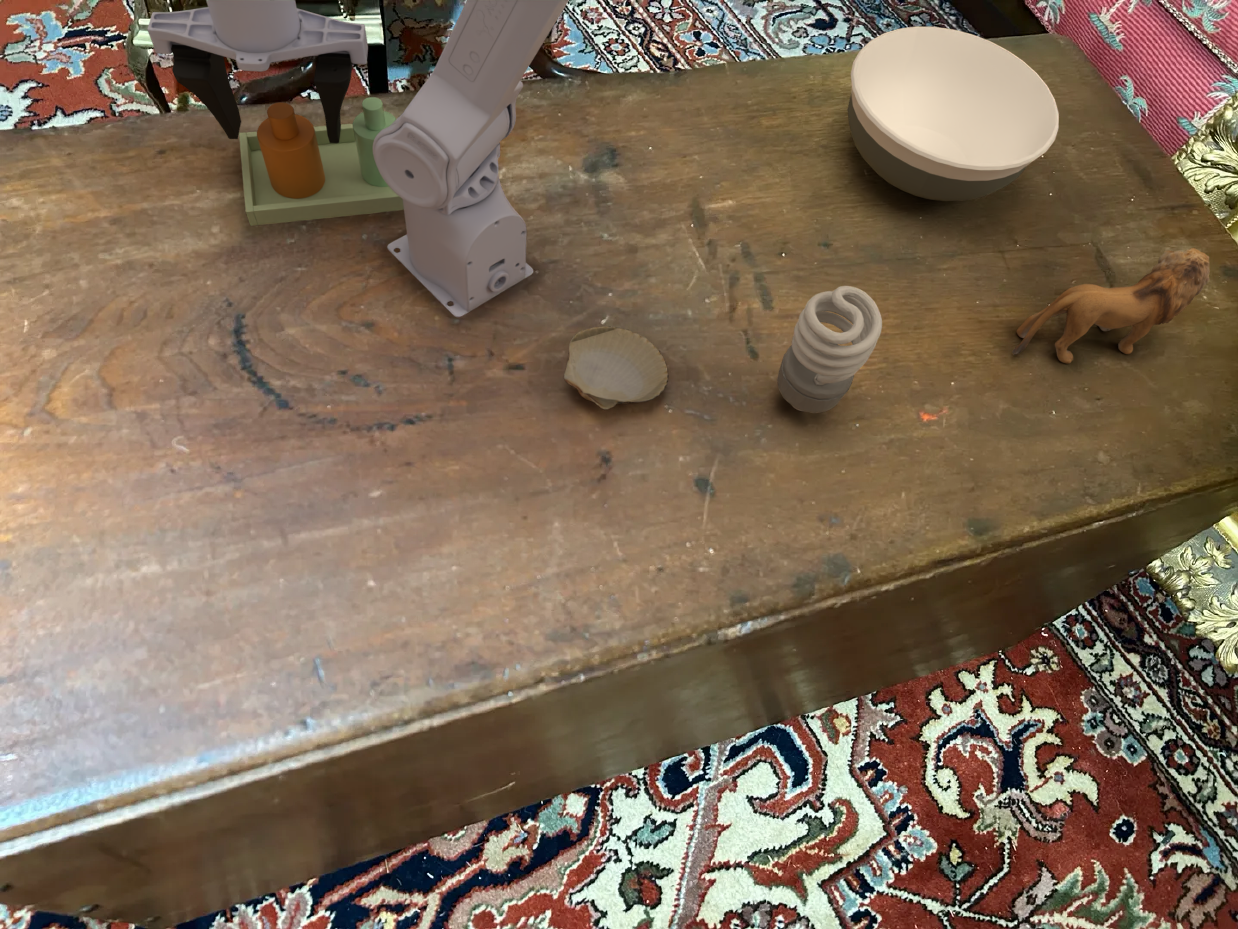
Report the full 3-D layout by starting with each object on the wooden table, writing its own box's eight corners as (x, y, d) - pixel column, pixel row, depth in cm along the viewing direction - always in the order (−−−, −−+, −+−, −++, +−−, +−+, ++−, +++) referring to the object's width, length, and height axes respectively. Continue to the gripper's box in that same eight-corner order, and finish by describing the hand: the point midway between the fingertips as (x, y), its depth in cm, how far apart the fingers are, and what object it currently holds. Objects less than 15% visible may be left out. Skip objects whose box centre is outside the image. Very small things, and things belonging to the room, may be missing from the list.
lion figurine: (1130, 300, 80) (1196, 226, 73) (1166, 346, 78) (1239, 275, 70) (993, 334, 77) (1048, 261, 69) (1027, 384, 74) (1088, 314, 66)
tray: (467, 132, 82) (467, 113, 80) (486, 205, 78) (486, 187, 76) (244, 152, 78) (238, 132, 76) (251, 230, 73) (245, 211, 72)
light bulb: (838, 437, 70) (896, 341, 59) (767, 432, 69) (813, 334, 59) (831, 377, 72) (885, 276, 62) (762, 372, 72) (805, 269, 62)
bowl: (865, 248, 80) (900, 176, 73) (797, 106, 89) (822, 29, 82) (1049, 227, 84) (1099, 157, 77) (966, 93, 93) (1004, 19, 86)
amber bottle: (333, 189, 76) (318, 120, 70) (282, 205, 74) (263, 136, 68) (313, 155, 78) (296, 85, 72) (262, 170, 76) (241, 100, 70)
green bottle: (412, 175, 78) (404, 107, 72) (377, 193, 76) (366, 125, 70) (387, 151, 79) (377, 82, 73) (352, 168, 77) (339, 99, 71)
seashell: (671, 392, 72) (606, 317, 73) (689, 372, 70) (621, 296, 70) (603, 443, 67) (534, 363, 68) (619, 424, 65) (547, 341, 66)
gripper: (113, -5, 57) (180, 164, 69) (349, 9, 59) (375, 171, 71) (136, -69, 61) (195, 102, 72) (358, -54, 62) (381, 110, 74)
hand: (285, 132), depth 72 cm, fingers open, 7 cm apart
